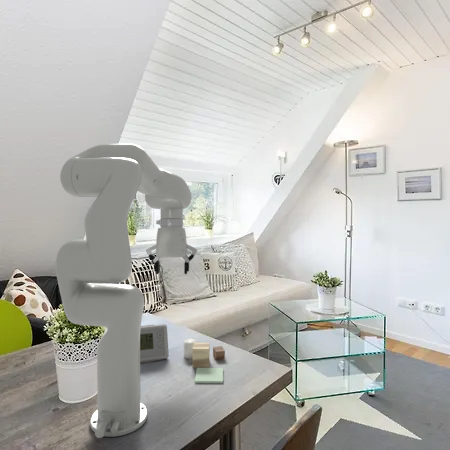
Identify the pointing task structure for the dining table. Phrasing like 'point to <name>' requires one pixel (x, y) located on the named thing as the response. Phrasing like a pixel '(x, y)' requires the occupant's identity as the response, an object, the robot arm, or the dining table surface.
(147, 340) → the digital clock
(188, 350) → the white capsule
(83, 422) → the dining table surface
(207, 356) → the beech block
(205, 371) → the felt pad
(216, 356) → the walnut box
